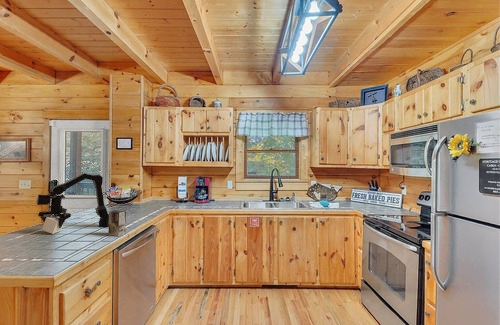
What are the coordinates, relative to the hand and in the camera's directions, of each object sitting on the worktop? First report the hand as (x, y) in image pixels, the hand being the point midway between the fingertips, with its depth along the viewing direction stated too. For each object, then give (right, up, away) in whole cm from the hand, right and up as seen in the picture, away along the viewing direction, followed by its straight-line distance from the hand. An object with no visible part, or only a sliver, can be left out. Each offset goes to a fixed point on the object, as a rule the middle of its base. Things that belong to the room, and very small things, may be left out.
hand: (53, 227), depth 178 cm
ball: (-2, -1, 0) cm, 2 cm away
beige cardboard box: (-1, -2, 0) cm, 2 cm away
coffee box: (+42, -6, +2) cm, 42 cm away
